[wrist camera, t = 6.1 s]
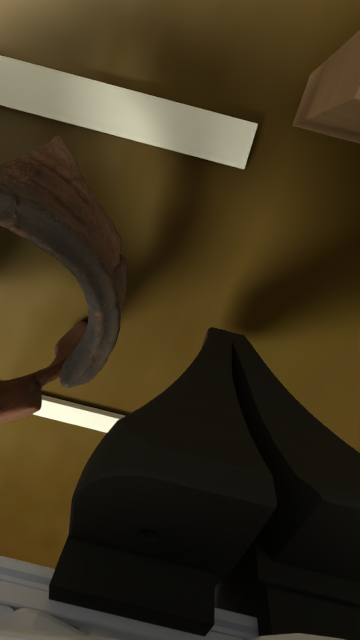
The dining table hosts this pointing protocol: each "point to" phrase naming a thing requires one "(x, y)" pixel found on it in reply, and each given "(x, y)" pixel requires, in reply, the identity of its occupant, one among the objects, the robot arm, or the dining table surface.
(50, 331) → the dining table surface
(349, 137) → the walnut screen
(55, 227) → the brown curved piece
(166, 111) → the bay outline
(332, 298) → the dining table surface
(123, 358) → the dining table surface
